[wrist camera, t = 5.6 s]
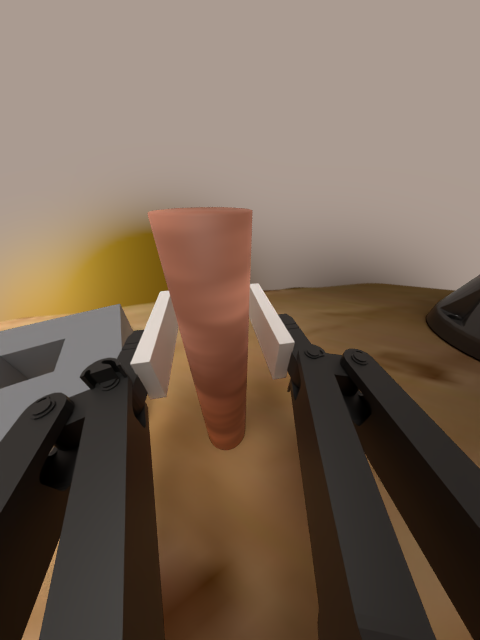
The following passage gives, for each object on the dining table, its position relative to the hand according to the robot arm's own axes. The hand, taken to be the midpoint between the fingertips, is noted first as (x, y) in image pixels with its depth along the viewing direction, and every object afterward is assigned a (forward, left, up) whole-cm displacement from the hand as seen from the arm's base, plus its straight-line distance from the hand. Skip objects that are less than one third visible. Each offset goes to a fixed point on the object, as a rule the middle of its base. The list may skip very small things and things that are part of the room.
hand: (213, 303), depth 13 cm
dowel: (+2, +5, -9) cm, 11 cm away
